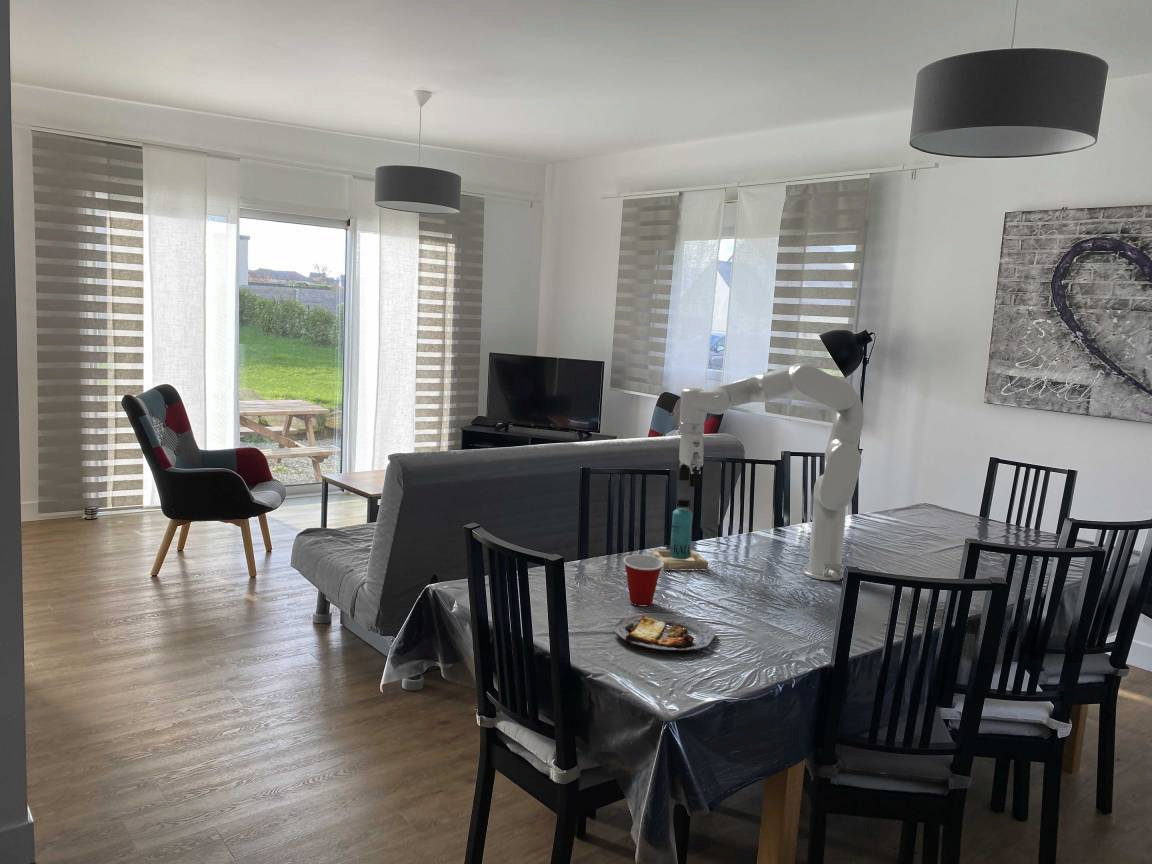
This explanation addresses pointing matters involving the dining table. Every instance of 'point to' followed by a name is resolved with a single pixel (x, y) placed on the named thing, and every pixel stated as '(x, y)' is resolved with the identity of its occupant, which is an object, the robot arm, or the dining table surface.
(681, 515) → the beverage bottle
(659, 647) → the food plate
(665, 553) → the tray
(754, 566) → the dining table surface
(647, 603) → the plastic cup
